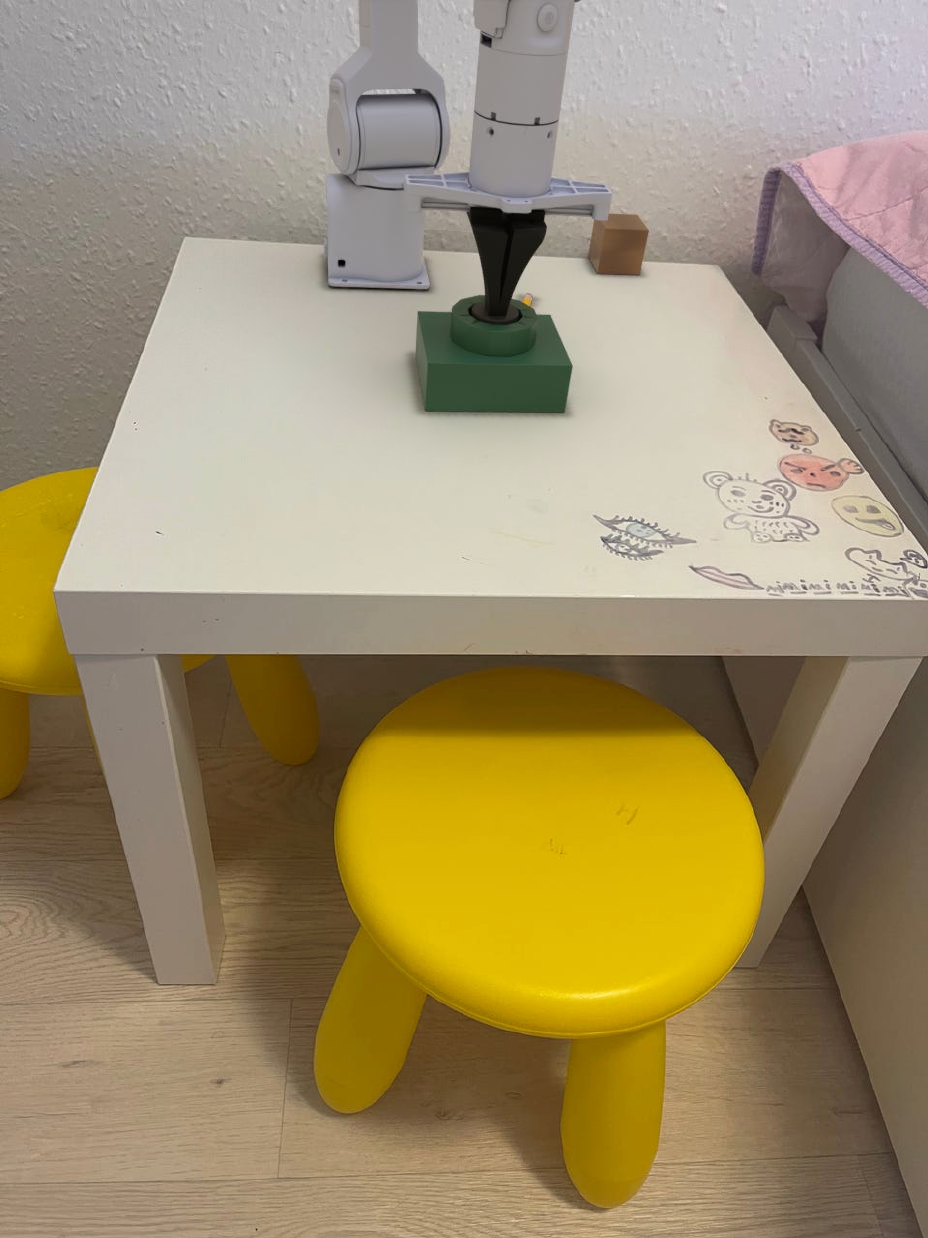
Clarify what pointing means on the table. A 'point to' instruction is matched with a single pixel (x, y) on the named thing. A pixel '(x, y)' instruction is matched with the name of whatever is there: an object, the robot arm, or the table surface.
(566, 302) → the table surface
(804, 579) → the table surface
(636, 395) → the table surface
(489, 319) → the dark grey push button
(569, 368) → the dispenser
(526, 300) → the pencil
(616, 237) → the block
